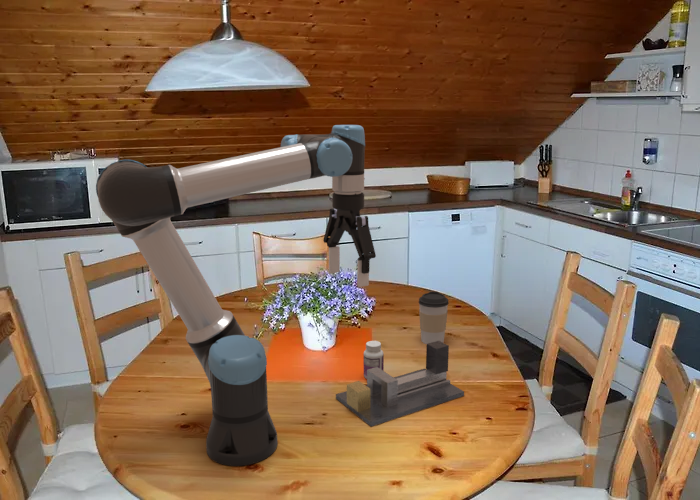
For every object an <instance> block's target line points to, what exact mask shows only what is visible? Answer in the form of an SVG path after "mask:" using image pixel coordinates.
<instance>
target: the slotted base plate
mask: <svg viewBox="0 0 700 500" xmlns="http://www.w3.org/2000/svg"><path fill="white" fill-rule="evenodd" d="M424 370H427V369H426V367H425V368H424V367H423V368H421V369H417V370H414V371H411V372H407V373H404V374H400V375H398V376H392V375H391V374H389V373H387V372H386V371H383V370H381V369H380V368H378V367H375V368H371V369H368V370H367V379H366V384H365V385H366V386H367V387H368V388H370V408H369V409H366V410H363V411H360V412H357V411H356V410H355V409H353V408H352V407H351V406H350V405H348V404H347V390H345V391H341V392H339V393H335V399H336V400H337V401H339V402H340V403H341V404H342V405H343V406H344V407H345V408H347V410H349V411H350V412H352V413H353V414H355V415H356V416H357V417H358V418H360V419H361V420H362V421H363V422H364V423H366V424H367V425H368V426H369V427H371V428H372V427H375V426H378V425H381V424H383V423H386V422H389V421H392V420H396V419H399V418H402V417H405V416H407V415H411V414H414V413H416V412H417V413H418V412H419V411H423V410H425V409H429V408H431V407H432V408H433V407H434V406H437V405H440V404H443V403H446V402H449V401H453V400H456V399H459V398H462V397H464V396H465V391H464V390H462V389H460V388H459V387H457V386H455V385H454V384H453V383H451V380H450V379H446V380H445V381H442V382H439V383H435V384H432V385H429V386H426V387H422V388H419V389H416V390H413V391H409V392H406V393H403V394H400V395H398V380H397V378H400V377H404V376H407V375H410V374H414V373H417V372H421V371H424Z"/></svg>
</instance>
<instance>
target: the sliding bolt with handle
mask: <svg viewBox="0 0 700 500" xmlns="http://www.w3.org/2000/svg"><path fill="white" fill-rule="evenodd" d="M425 348H426V350H425V353H426V354H425V369H426V370H424V371H421V372H417V373H414V374H410V375H407V376H404V377H400V378H397V380H398V395H400V394H403V393H406V392H409V391H413V390H416V389H419V388H422V387H426V386H429V385H432V384H435V383H439V382H442V381H445V380H447V372H448V371H449V349H450V346H449V345H448V344H446V343H443V342H441V341H435V342H431V343H428V344H426V347H425Z"/></svg>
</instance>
